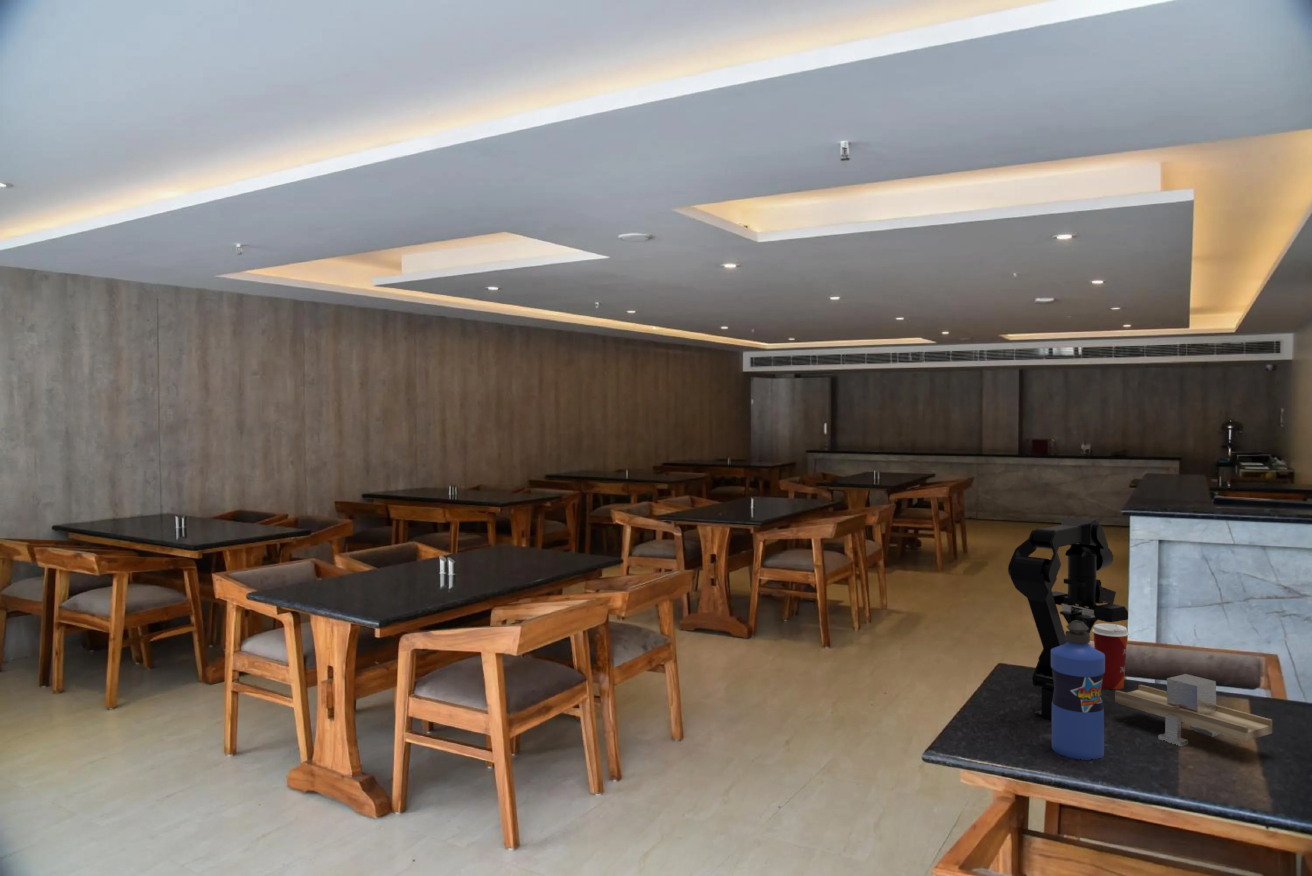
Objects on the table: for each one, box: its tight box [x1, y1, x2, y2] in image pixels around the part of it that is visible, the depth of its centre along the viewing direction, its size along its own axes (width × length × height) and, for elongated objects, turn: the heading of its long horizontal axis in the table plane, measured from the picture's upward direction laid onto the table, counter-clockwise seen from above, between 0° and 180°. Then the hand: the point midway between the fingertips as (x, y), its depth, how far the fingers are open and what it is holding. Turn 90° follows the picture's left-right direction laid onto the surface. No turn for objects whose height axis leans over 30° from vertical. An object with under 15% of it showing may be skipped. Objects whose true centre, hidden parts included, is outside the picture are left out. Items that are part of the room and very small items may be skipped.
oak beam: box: [1114, 684, 1273, 742], centre depth 172 cm, size 8×26×4 cm, turn 27°
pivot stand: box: [1157, 714, 1221, 747], centre depth 172 cm, size 13×4×5 cm, turn 117°
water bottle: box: [1051, 620, 1105, 761], centre depth 166 cm, size 9×9×25 cm
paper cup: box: [1091, 622, 1130, 690], centre depth 204 cm, size 8×8×14 cm
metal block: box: [1166, 673, 1217, 715], centre depth 172 cm, size 6×6×6 cm
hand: (1081, 644), depth 192 cm, fingers closed
